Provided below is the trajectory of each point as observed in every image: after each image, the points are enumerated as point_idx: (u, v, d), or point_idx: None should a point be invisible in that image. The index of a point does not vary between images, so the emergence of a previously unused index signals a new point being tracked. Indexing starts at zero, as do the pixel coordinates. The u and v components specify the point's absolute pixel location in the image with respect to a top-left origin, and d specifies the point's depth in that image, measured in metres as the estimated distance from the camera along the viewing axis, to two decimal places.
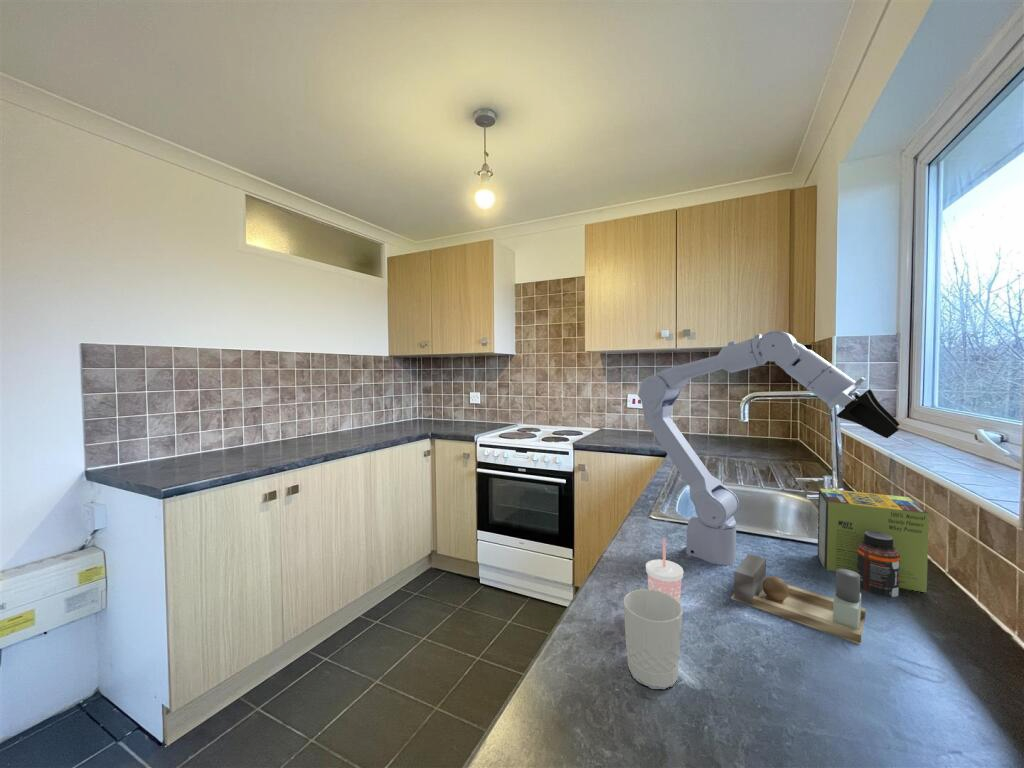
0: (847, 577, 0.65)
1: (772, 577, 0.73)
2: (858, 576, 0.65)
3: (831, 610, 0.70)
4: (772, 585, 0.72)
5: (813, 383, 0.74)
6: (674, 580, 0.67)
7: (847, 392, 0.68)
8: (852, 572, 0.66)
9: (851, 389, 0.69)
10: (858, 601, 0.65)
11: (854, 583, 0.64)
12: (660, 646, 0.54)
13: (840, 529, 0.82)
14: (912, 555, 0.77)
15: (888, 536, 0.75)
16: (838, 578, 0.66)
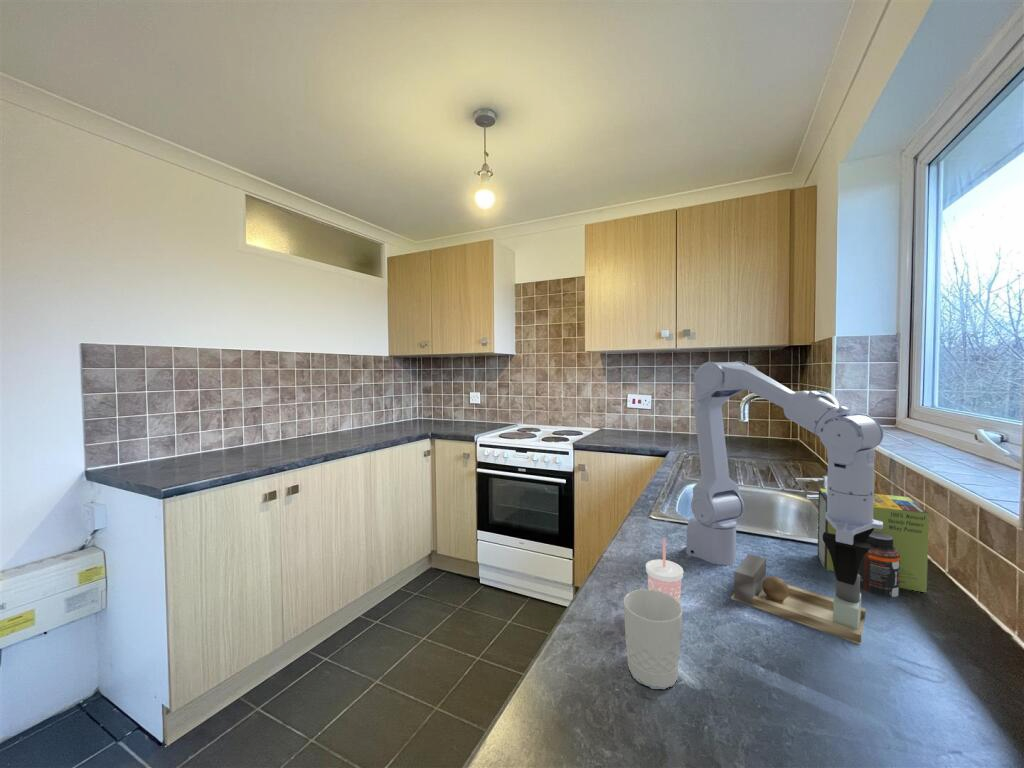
0: None
1: (772, 577, 0.73)
2: (858, 576, 0.65)
3: (831, 610, 0.70)
4: (772, 585, 0.72)
5: (838, 494, 0.64)
6: (674, 580, 0.67)
7: (855, 533, 0.61)
8: None
9: (861, 530, 0.61)
10: (858, 601, 0.65)
11: None
12: (660, 646, 0.54)
13: None
14: (912, 555, 0.77)
15: (888, 536, 0.75)
16: None
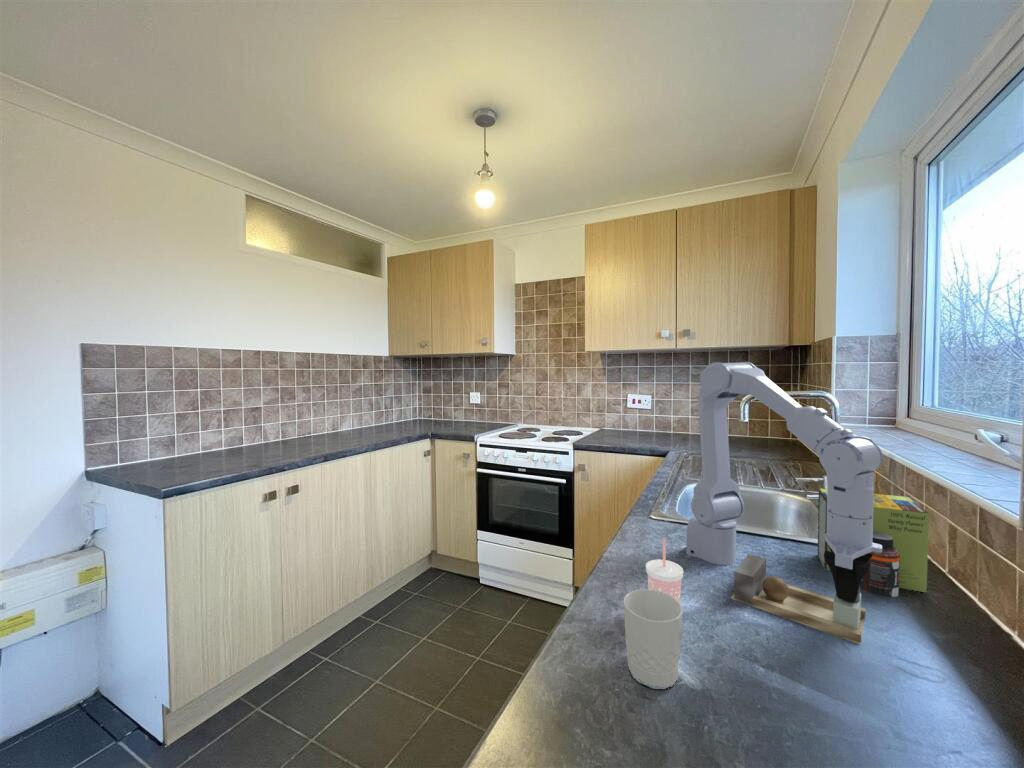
0: None
1: (772, 577, 0.73)
2: None
3: (831, 610, 0.70)
4: (772, 585, 0.72)
5: (838, 517, 0.64)
6: (674, 580, 0.67)
7: (855, 557, 0.61)
8: None
9: (861, 554, 0.62)
10: (858, 601, 0.65)
11: None
12: (660, 646, 0.54)
13: None
14: (912, 555, 0.77)
15: (888, 536, 0.75)
16: None
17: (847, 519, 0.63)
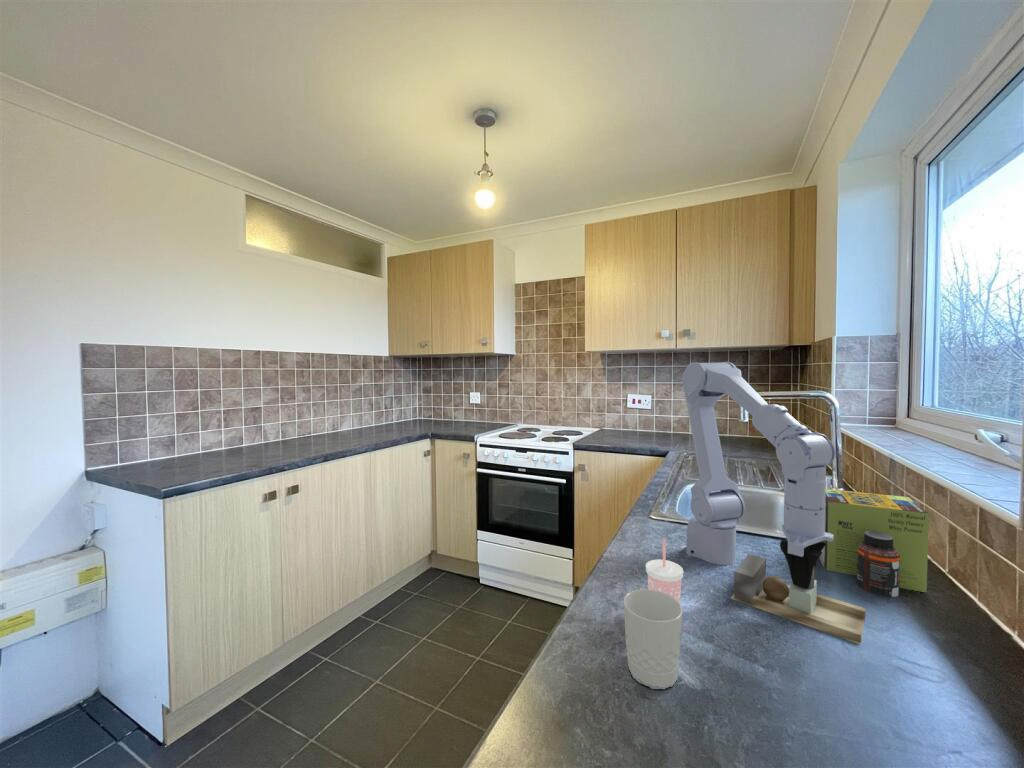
0: None
1: (772, 577, 0.73)
2: None
3: (831, 610, 0.70)
4: (772, 585, 0.72)
5: (792, 508, 0.69)
6: (674, 580, 0.67)
7: (806, 545, 0.65)
8: None
9: (812, 543, 0.66)
10: (812, 587, 0.69)
11: None
12: (660, 646, 0.54)
13: (840, 529, 0.82)
14: (912, 555, 0.77)
15: (888, 536, 0.75)
16: None
17: (801, 510, 0.68)
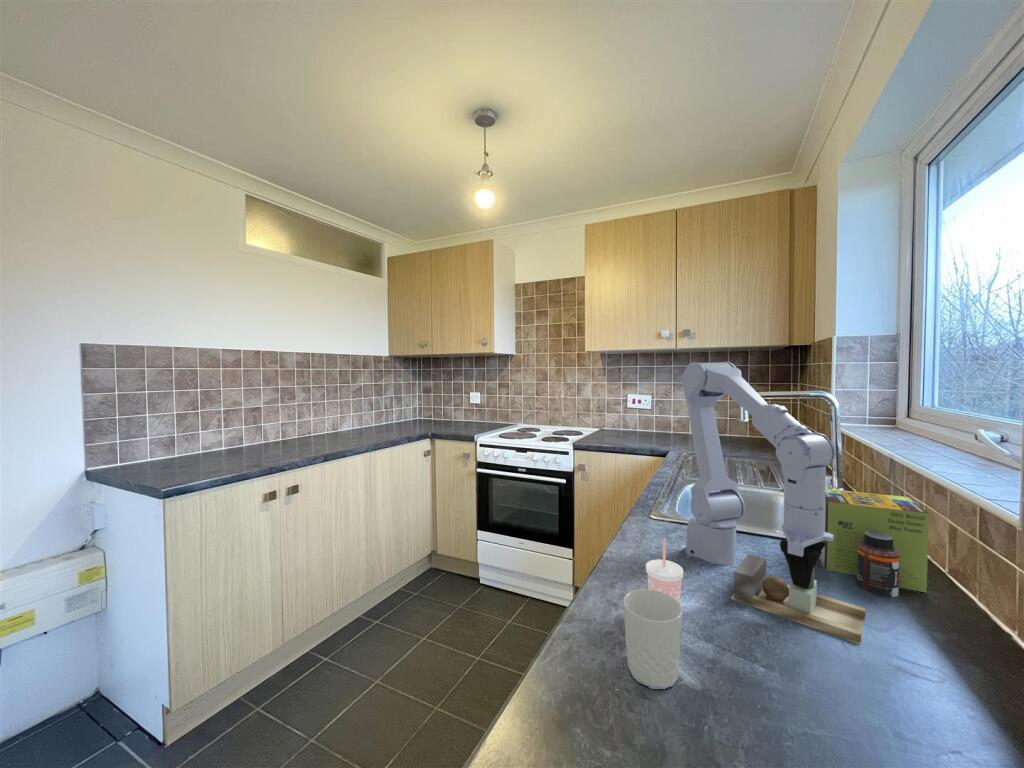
0: None
1: (772, 577, 0.73)
2: None
3: (831, 610, 0.70)
4: (772, 585, 0.72)
5: (792, 508, 0.69)
6: (674, 580, 0.67)
7: (806, 545, 0.65)
8: None
9: (812, 543, 0.66)
10: (812, 587, 0.69)
11: None
12: (660, 646, 0.54)
13: (840, 529, 0.82)
14: (912, 555, 0.77)
15: (888, 536, 0.75)
16: None
17: (800, 510, 0.68)
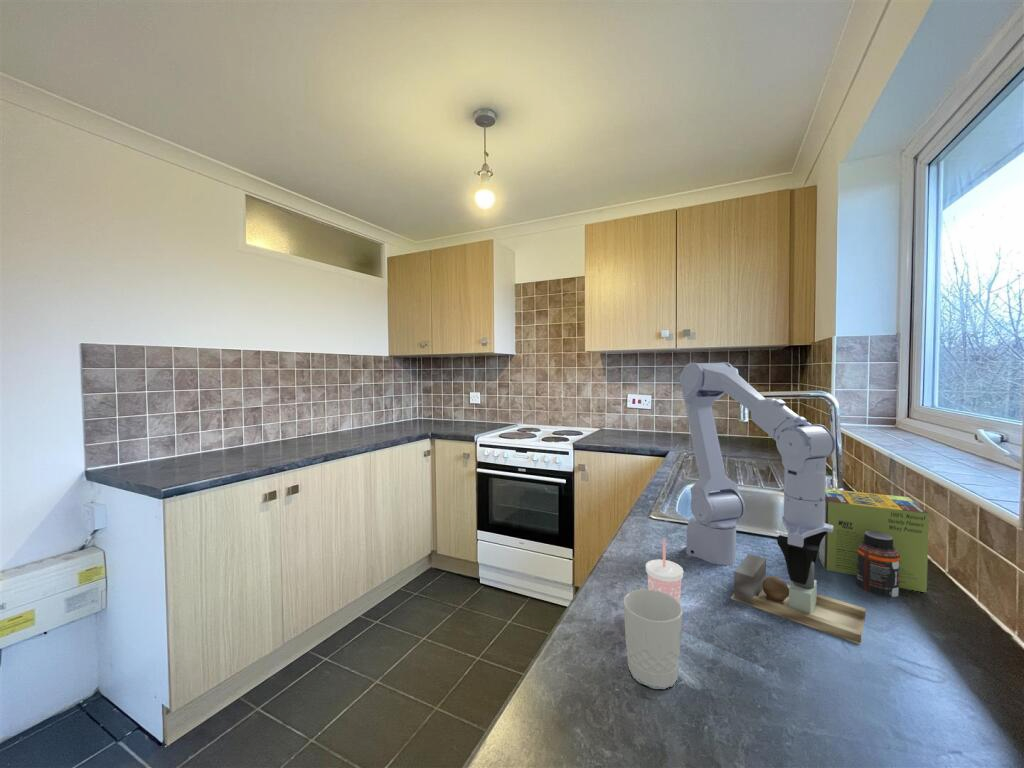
0: None
1: (772, 577, 0.73)
2: (812, 564, 0.69)
3: (831, 610, 0.70)
4: (772, 585, 0.72)
5: (792, 499, 0.69)
6: (674, 580, 0.67)
7: (806, 536, 0.65)
8: None
9: (812, 534, 0.66)
10: (812, 587, 0.69)
11: None
12: (660, 646, 0.54)
13: (840, 528, 0.82)
14: (912, 555, 0.77)
15: (888, 536, 0.75)
16: None
17: (800, 501, 0.68)
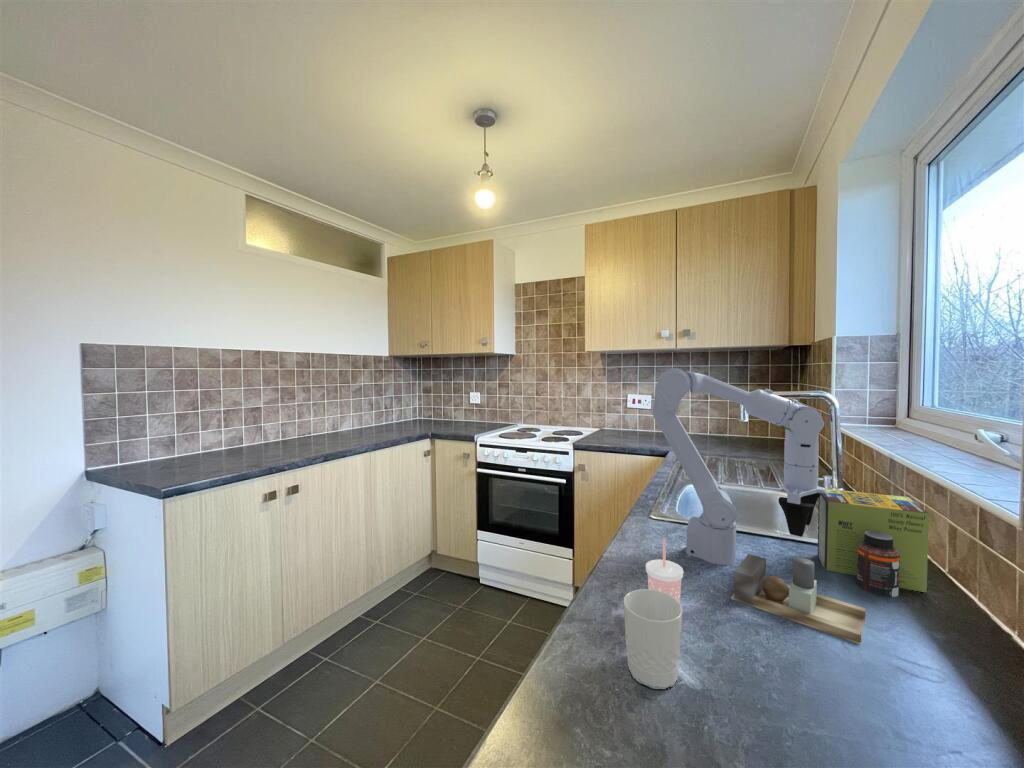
0: (801, 564, 0.69)
1: (772, 577, 0.73)
2: (812, 564, 0.69)
3: (831, 610, 0.70)
4: (772, 585, 0.72)
5: (791, 466, 0.82)
6: (674, 580, 0.67)
7: (802, 495, 0.78)
8: (807, 560, 0.70)
9: (807, 494, 0.79)
10: (812, 587, 0.69)
11: (808, 570, 0.69)
12: (660, 646, 0.54)
13: (840, 529, 0.82)
14: (912, 555, 0.77)
15: (888, 536, 0.75)
16: (794, 566, 0.70)
17: (798, 467, 0.81)
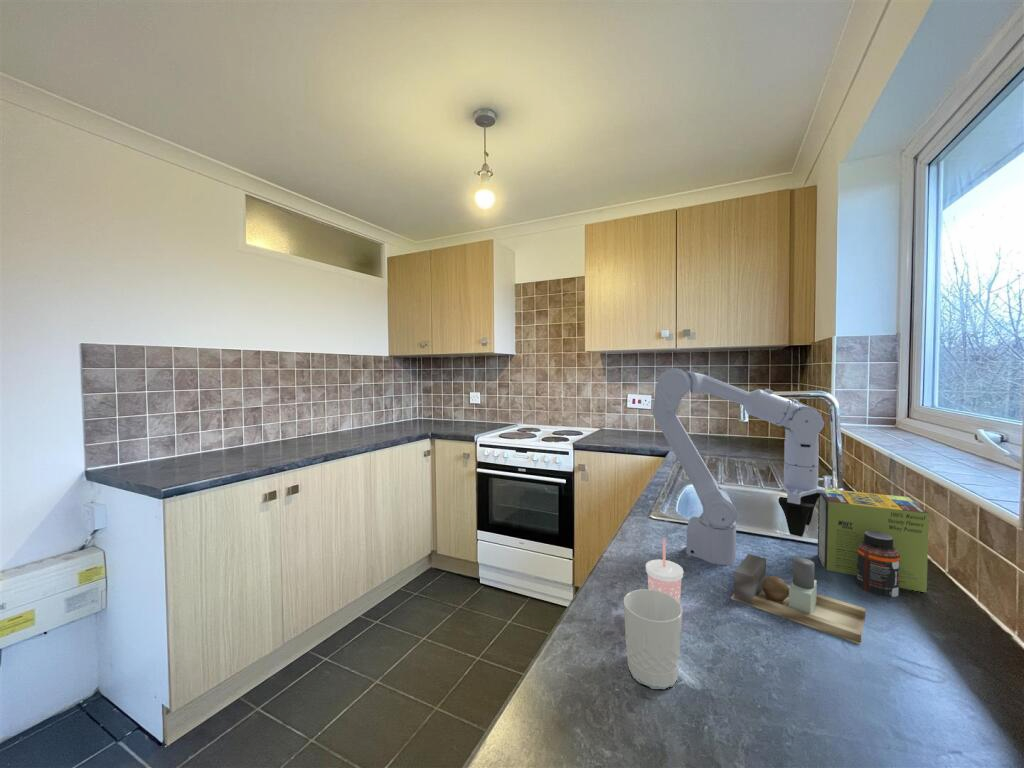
0: (801, 564, 0.69)
1: (772, 577, 0.73)
2: (812, 564, 0.69)
3: (831, 610, 0.70)
4: (772, 585, 0.72)
5: (791, 466, 0.82)
6: (674, 580, 0.67)
7: (802, 495, 0.78)
8: (807, 560, 0.70)
9: (807, 494, 0.79)
10: (812, 587, 0.69)
11: (808, 570, 0.69)
12: (660, 646, 0.54)
13: (840, 529, 0.82)
14: (912, 555, 0.77)
15: (888, 536, 0.75)
16: (794, 566, 0.70)
17: (798, 467, 0.81)
